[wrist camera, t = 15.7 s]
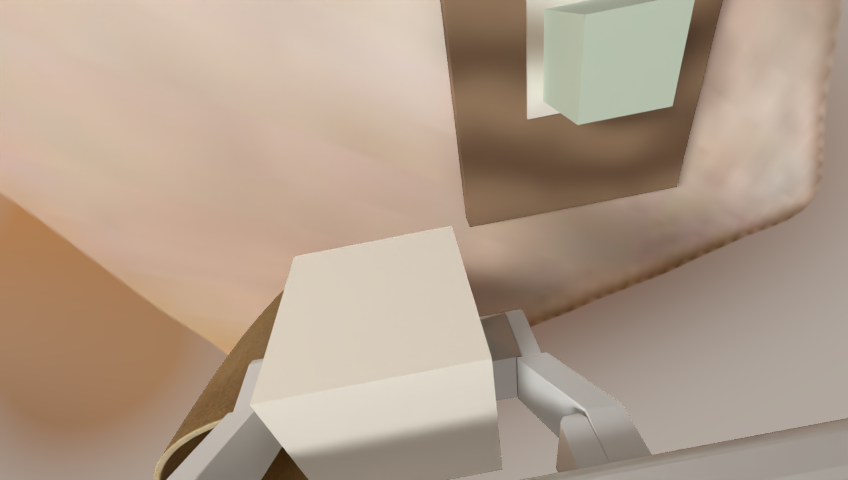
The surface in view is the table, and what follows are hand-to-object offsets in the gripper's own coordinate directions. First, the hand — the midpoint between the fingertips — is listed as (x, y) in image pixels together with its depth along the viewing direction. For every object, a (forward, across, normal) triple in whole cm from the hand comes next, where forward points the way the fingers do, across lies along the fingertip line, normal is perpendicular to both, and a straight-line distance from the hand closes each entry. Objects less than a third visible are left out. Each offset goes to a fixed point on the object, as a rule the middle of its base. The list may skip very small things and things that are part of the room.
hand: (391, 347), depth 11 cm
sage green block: (+16, -13, -4) cm, 21 cm away
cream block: (+2, 0, 0) cm, 2 cm away
